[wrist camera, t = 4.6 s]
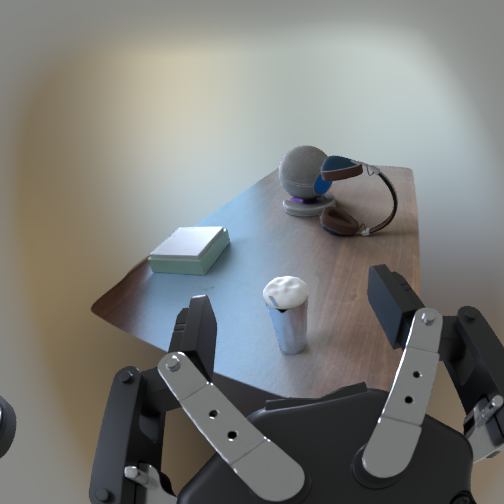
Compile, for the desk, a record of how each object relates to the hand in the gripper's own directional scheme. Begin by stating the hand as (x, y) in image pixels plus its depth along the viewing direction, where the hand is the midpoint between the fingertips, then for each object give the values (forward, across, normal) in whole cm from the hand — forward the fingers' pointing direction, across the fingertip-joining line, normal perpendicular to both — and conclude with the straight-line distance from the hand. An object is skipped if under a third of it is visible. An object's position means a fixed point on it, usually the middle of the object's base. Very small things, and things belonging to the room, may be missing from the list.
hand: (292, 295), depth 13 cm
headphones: (+37, +14, -17) cm, 43 cm away
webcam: (+53, +11, -17) cm, 57 cm away
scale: (+37, -16, -17) cm, 44 cm away
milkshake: (+11, 0, -17) cm, 20 cm away
